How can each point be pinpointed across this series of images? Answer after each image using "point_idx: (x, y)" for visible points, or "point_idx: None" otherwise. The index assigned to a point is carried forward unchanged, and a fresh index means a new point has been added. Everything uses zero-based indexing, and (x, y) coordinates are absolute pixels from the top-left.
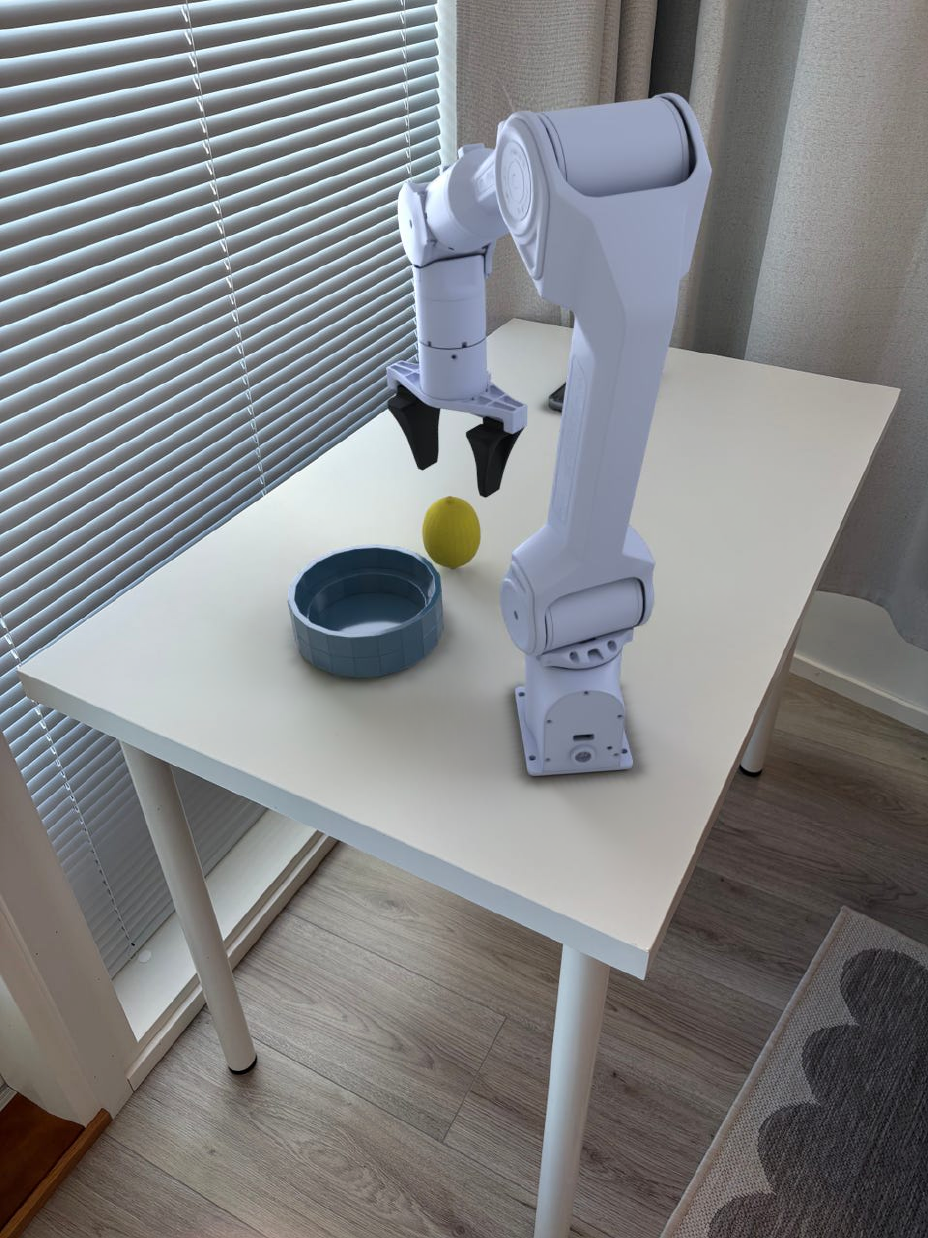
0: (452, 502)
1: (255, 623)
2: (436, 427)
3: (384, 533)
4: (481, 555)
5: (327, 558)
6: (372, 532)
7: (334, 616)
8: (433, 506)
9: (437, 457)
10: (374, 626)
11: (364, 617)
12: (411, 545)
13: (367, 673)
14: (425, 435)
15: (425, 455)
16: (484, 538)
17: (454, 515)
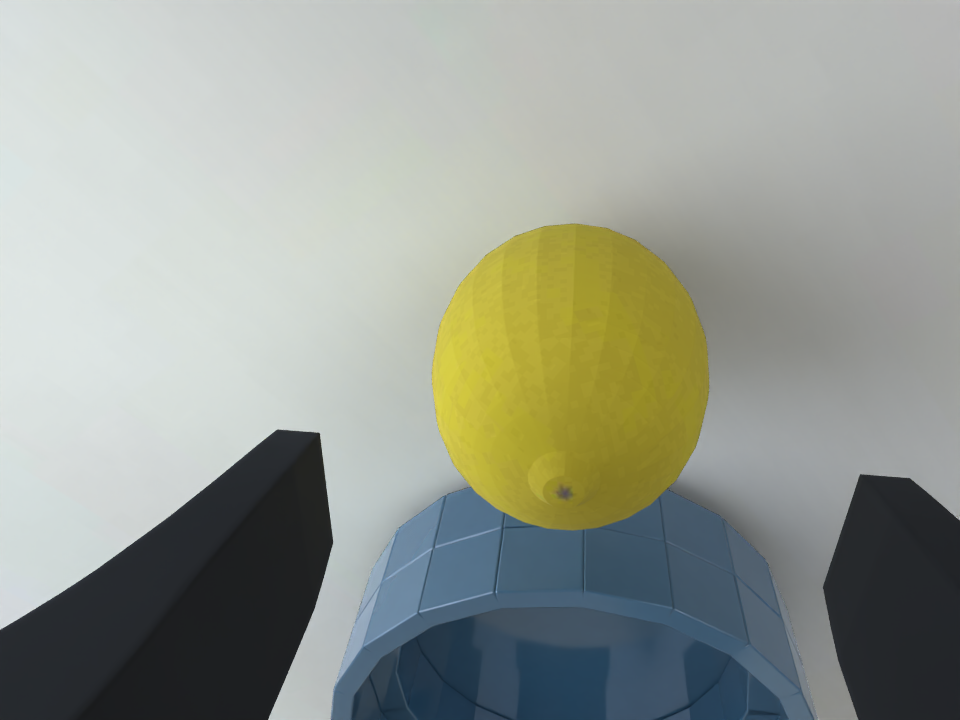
0: (592, 494)
1: (316, 697)
2: (191, 611)
3: (205, 260)
4: (615, 151)
5: (352, 713)
6: (169, 280)
7: (458, 640)
8: (496, 499)
9: (308, 449)
10: (578, 625)
11: (528, 614)
12: (341, 261)
13: None
14: (223, 692)
15: (296, 584)
16: (546, 33)
17: (637, 503)
